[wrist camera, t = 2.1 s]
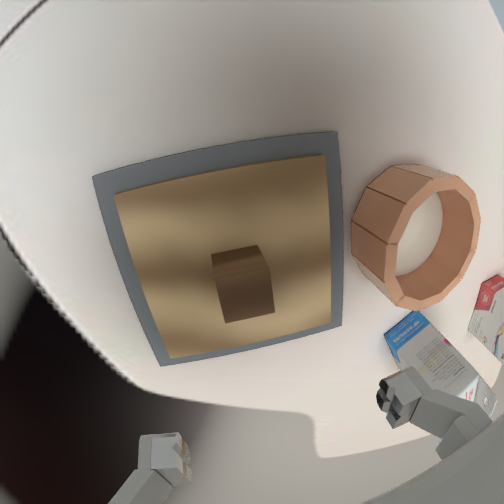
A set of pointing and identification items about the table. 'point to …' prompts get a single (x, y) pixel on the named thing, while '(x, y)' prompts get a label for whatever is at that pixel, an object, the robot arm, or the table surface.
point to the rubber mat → (210, 161)
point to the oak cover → (232, 252)
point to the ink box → (437, 361)
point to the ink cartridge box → (490, 317)
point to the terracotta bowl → (415, 234)
